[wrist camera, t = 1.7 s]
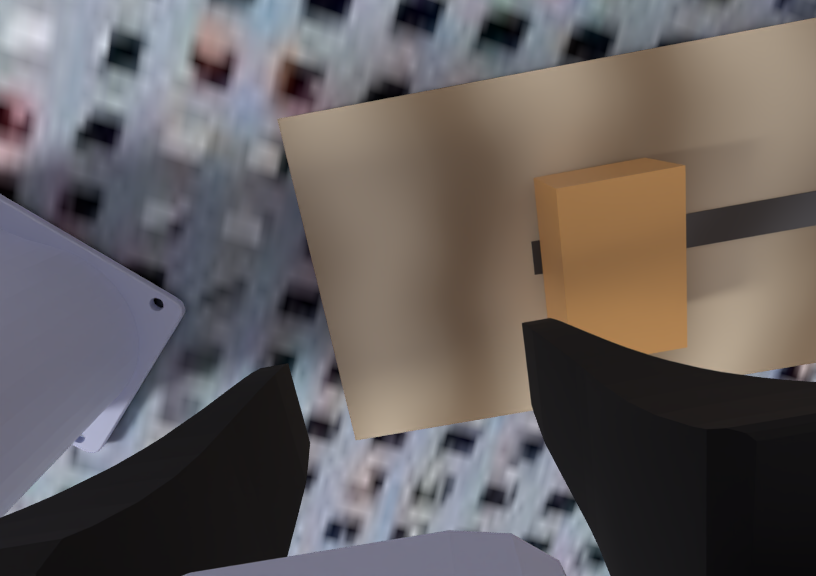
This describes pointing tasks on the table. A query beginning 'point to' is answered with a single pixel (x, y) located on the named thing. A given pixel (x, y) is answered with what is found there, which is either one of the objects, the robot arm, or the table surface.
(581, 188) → the fader knob
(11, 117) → the table surface
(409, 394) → the fader panel
